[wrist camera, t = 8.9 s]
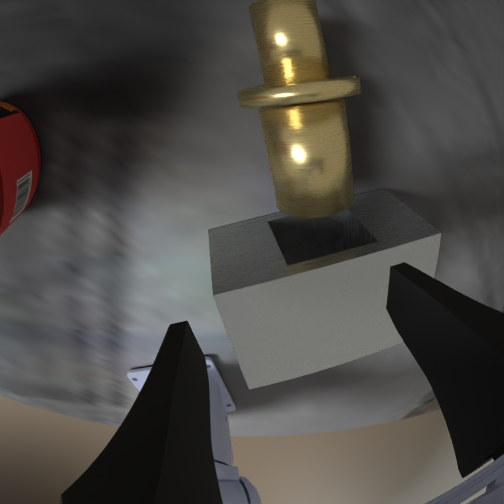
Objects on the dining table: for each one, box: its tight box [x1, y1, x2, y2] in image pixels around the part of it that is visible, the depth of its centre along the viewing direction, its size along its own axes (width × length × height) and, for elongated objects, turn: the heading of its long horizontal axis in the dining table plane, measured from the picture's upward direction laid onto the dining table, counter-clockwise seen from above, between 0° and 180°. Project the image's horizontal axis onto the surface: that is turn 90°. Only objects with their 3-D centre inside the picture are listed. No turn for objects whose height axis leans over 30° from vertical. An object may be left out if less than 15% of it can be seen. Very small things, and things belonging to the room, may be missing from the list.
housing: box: [208, 189, 441, 389], centre depth 19 cm, size 8×12×6 cm, turn 101°
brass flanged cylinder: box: [237, 0, 361, 218], centre depth 13 cm, size 10×6×6 cm, turn 11°
